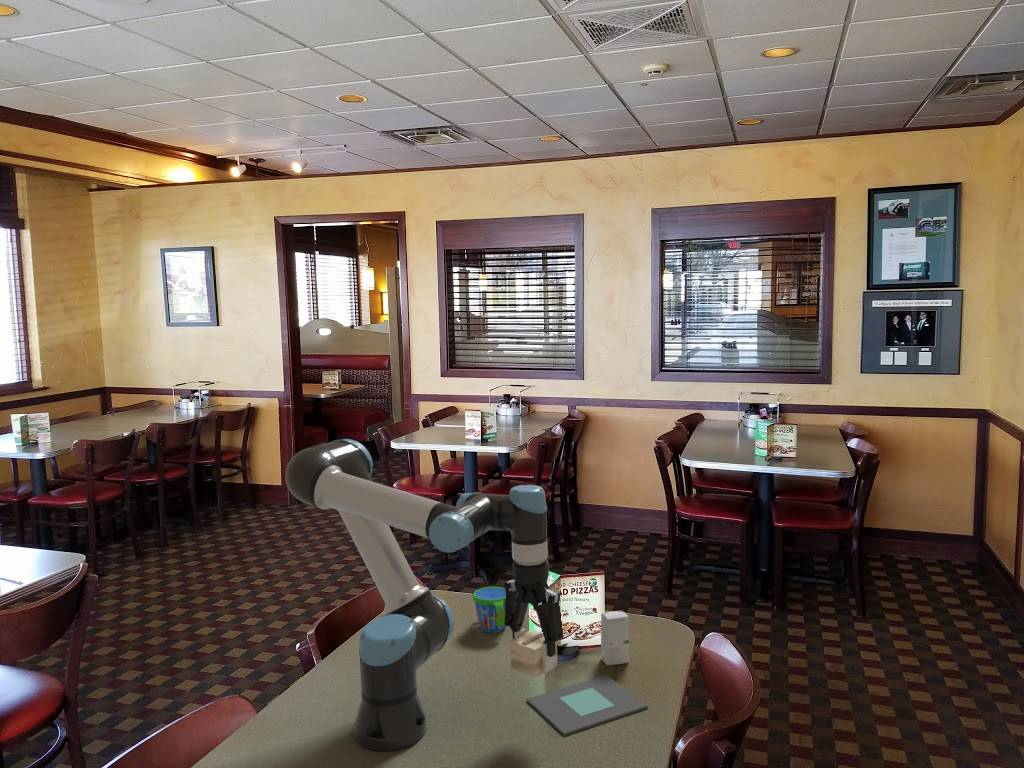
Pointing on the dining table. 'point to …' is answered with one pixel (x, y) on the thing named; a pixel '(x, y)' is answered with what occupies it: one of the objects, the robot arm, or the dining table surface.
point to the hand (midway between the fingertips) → (534, 664)
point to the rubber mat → (586, 704)
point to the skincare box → (615, 637)
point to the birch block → (528, 653)
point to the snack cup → (490, 608)
